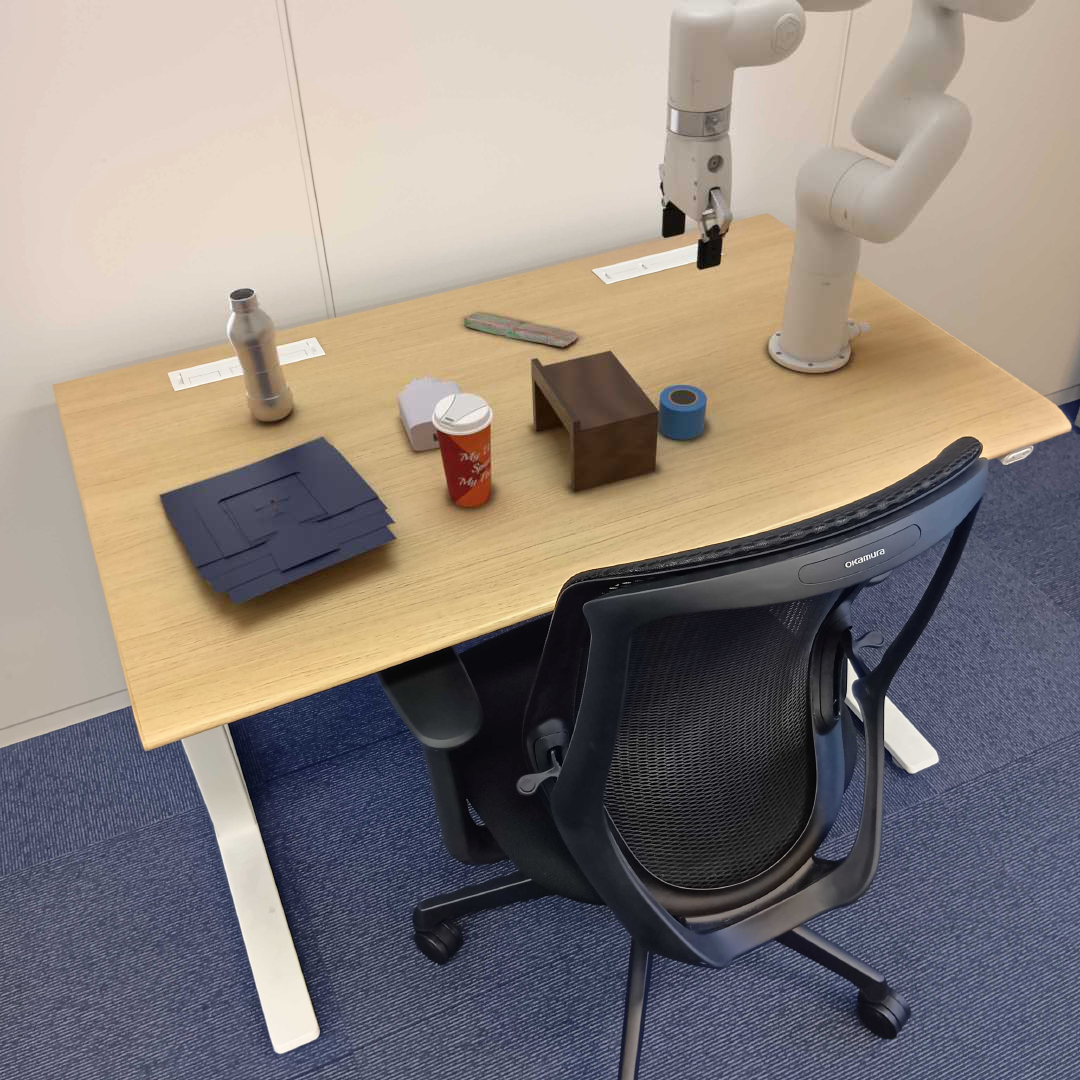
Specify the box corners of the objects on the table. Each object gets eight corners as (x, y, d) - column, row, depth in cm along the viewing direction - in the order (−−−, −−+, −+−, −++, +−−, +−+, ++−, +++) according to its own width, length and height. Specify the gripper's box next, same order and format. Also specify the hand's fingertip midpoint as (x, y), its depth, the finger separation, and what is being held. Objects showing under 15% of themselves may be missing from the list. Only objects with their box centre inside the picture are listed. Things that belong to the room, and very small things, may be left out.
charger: (450, 384, 152) (476, 439, 141) (392, 396, 150) (413, 453, 139) (447, 358, 149) (473, 412, 138) (387, 370, 147) (409, 426, 136)
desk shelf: (609, 408, 146) (610, 341, 138) (655, 471, 135) (659, 401, 127) (533, 427, 143) (530, 359, 135) (574, 492, 132) (573, 422, 124)
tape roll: (691, 409, 145) (693, 379, 141) (711, 433, 140) (715, 404, 137) (650, 419, 143) (652, 389, 140) (669, 444, 139) (672, 414, 135)
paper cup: (477, 519, 128) (469, 433, 119) (430, 500, 131) (418, 414, 122) (510, 486, 133) (504, 400, 124) (464, 469, 136) (455, 384, 127)
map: (472, 314, 168) (471, 309, 168) (581, 333, 161) (581, 328, 160) (457, 329, 165) (457, 323, 164) (568, 348, 157) (568, 343, 157)
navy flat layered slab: (225, 630, 113) (216, 606, 111) (163, 512, 135) (155, 490, 133) (414, 550, 122) (409, 527, 120) (328, 452, 144) (323, 430, 142)
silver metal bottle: (305, 412, 147) (276, 292, 134) (267, 433, 144) (234, 311, 130) (279, 396, 151) (249, 277, 137) (242, 416, 147) (207, 296, 134)
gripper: (763, 136, 112) (749, 273, 123) (692, 89, 124) (685, 218, 135) (705, 148, 110) (696, 286, 122) (638, 100, 122) (635, 230, 134)
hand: (690, 250), depth 129 cm, fingers open, 9 cm apart
